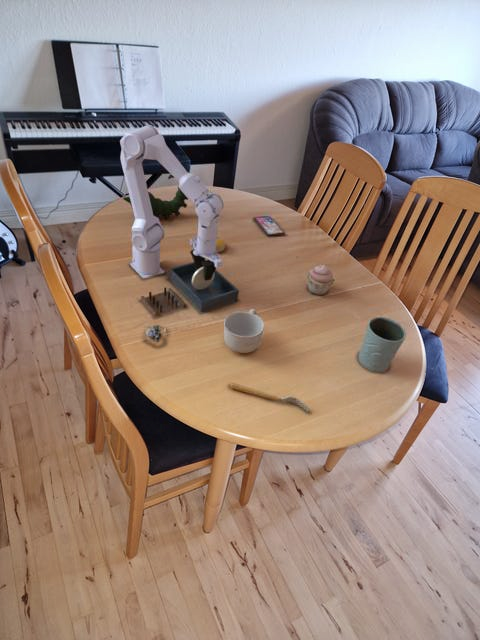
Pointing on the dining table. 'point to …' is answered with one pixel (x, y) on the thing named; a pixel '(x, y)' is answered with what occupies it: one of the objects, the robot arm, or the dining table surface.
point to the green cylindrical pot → (381, 343)
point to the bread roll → (220, 245)
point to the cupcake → (320, 279)
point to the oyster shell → (154, 332)
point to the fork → (267, 395)
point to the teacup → (243, 331)
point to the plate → (201, 279)
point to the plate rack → (163, 302)
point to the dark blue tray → (205, 298)
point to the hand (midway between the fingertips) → (203, 275)
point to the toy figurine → (166, 204)
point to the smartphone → (268, 226)
